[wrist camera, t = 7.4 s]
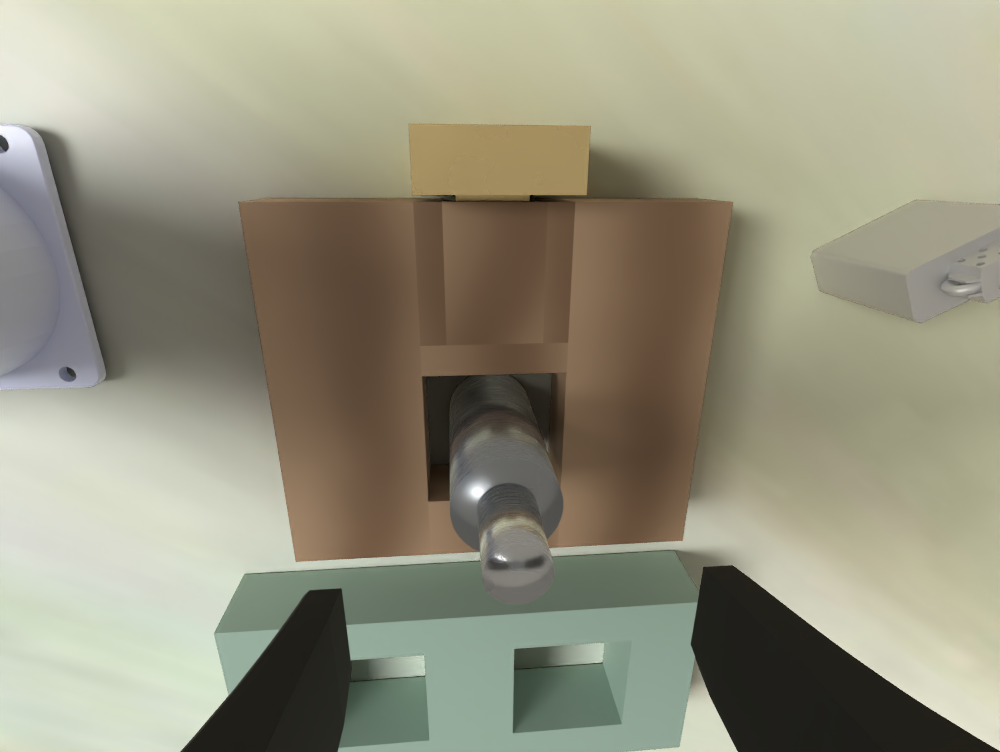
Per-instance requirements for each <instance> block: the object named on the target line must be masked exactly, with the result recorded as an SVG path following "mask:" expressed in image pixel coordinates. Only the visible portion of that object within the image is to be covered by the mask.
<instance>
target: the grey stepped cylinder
mask: <svg viewBox="0 0 1000 752" xmlns="http://www.w3.org/2000/svg"><path fill="white" fill-rule="evenodd" d="M562 513H563V495H562V492H561V489H560V486H559V483H558V480H557V478H556V475H555V472H554V469H553V466H552V463H551V461H550V458H549V455H548V452H547V449H546V447H545V444H544V441H543V438H542V435H541V432H540V430H539V427H538V424H537V421H536V418H535V415H534V413H533V410H532V407H531V404H530V401H529V398H528V396H527V393H526V391H525V389H524V388H523V386H522V385H521V384H520V383H519V382H518V381H517V380H516V379H515V378H513V377H512V376H510V375H508V374H495V375H472V376H469V377H468V378H466V379H465V380H464V381H463V382H461V383H460V384H459V386H458V387H457V388H456V390H455V391H454V393H453V395H452V398H451V401H450V518H451V522H452V525H453V527H454V530H455V531H456V533H457V534H458V536H459V537H460V538H461V539H462V540H463V541H464V542H465V543H466V544H467V545H469V546H470V547H472V548H473V549H475V550H477V551H479V552H480V557H481V569H482V581H483V585H484V587H485V589H486V591H487V592H488V594H489V595H490V596H492V597H493V598H494V599H496V600H498V601H500V602H503V603H507V604H524V603H528V602H531V601H534V600H536V599H538V598H539V597H541V596H542V595H543V594H544V593H546V592H547V590H548V589H549V588H550V586H551V585H552V583H553V580H554V575H555V569H554V565H553V561H552V557H551V553H550V550H549V546H548V542H547V539H548V538H549V537H550V536H551V535H552V533H553V532H554V531H555V529H556V528H557V526H558V524H559V522H560V520H561V517H562Z"/></svg>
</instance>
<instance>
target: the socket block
mask: <svg viewBox="0 0 1000 752" xmlns="http://www.w3.org/2000/svg"><path fill="white" fill-rule="evenodd" d="M238 203H239V209H240V215H241V222H242V228H243V234H244V241H245V247H246V253H247V259H248V266H249V272H250V278H251V284H252V291H253V297H254V303H255V309H256V316H257V322H258V328H259V334H260V341H261V347H262V353H263V360H264V366H265V372H266V378H267V385H268V391H269V397H270V403H271V410H272V416H273V422H274V428H275V435H276V441H277V447H278V454H279V460H280V466H281V472H282V479H283V485H284V491H285V497H286V504H287V510H288V516H289V522H290V529H291V535H292V541H293V547H294V554H295V560H296V562H300V561H318V560H336V559H355V558H373V557H391V556H409V555H428V554H446V553H464V552H479V551H477V550H475V549H473V548H472V547H470V546H469V545H467V544H466V543H465V542H464V541H463V540H462V539H461V538H460V537H459V536H458V534H457V533H456V531H455V530H454V527H453V525H452V522H451V518H450V464H443V465H431V464H430V442H429V421H428V400H427V379H426V376H458V375H495V374H532V373H552V378H551V402H550V427H549V452H548V455H549V458H550V461H551V463H552V466H553V469H554V472H555V475H556V478H557V480H558V483H559V486H560V489H561V492H562V495H563V513H562V517H561V520H560V522H559V524H558V526H557V528H556V529H555V531H554V532H553V533H552V535H551V536H550V537H549V538H548V539H547V542H548V546H549V548H556V547H574V546H592V545H611V544H629V543H647V542H665V541H682V540H683V533H684V526H685V520H686V513H687V506H688V500H689V493H690V486H691V480H692V473H693V466H694V460H695V453H696V446H697V440H698V433H699V426H700V420H701V413H702V406H703V399H704V393H705V386H706V379H707V373H708V366H709V359H710V353H711V346H712V339H713V333H714V326H715V319H716V313H717V306H718V299H719V293H720V286H721V279H722V272H723V266H724V259H725V252H726V246H727V239H728V232H729V226H730V219H731V212H732V206H733V202H727V201H717V200H707V199H697V198H535V201H443V198H265V199H258V200H250V201H243V202H238Z"/></svg>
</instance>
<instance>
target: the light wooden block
mask: <svg viewBox="0 0 1000 752" xmlns="http://www.w3.org/2000/svg"><path fill="white" fill-rule="evenodd" d="M590 129H591V126H545V125H463V124H409V139H410V159H411V179H412V195H455V201H529V198H530V195H587V181H588V164H589V146H590Z"/></svg>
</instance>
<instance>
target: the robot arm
mask: <svg viewBox="0 0 1000 752" xmlns="http://www.w3.org/2000/svg"><path fill="white" fill-rule="evenodd" d="M1 135H2V136H3V137H5V138H6V140H7V142H8V144H9V149H8V150H7V152H5V151H4V150H3V149H2V148H1V146H0V390H13V389H50V388H87V387H93V386H95V385H97V384H99V383H100V382H102V381H103V380H104V378H105V376H106V369H105V365H104V362H103V358H102V354H101V351H100V347H99V343H98V340H97V336H96V332H95V329H94V325H93V321H92V317H91V314H90V310H89V306H88V303H87V299H86V295H85V292H84V288H83V284H82V281H81V277H80V273H79V269H78V266H77V262H76V258H75V255H74V251H73V247H72V244H71V240H70V236H69V233H68V229H67V225H66V222H65V218H64V214H63V210H62V207H61V203H60V199H59V196H58V192H57V188H56V185H55V181H54V177H53V174H52V170H51V166H50V162H49V159H48V155H47V151H46V148H45V144H44V142H43V140H42V138H41V136H40V135H39V134H38V133H37V132H36V131H35V130H33V129H31V128H30V127H27V126H23V125H15V124H0V137H1ZM67 367H69V368H71V369H72V370H74V372H75V373H76V377H72V376H71V375H69V373H68V372H67ZM691 647H692V650H693V652H694V655H695V658H696V661H697V663H698V666H699V669H700V672H701V674H702V677H703V680H704V682H705V685H706V687H707V690H708V692H709V695H710V697H711V699H712V701H713V703H714V705H715V707H716V709H717V711H718V713H719V715H720V717H721V719H722V721H723V723H724V725H725V727H726V729H727V731H728V733H729V735H730V737H731V739H732V741H733V743H734V745H735V747H736V749H737V751H738V752H1000V751H999V750H997V749H995V748H994V747H992V746H990V745H988V744H987V743H985V742H983V741H982V740H980V739H978V738H976V737H975V736H973V735H972V734H970V733H968V732H967V731H965V730H963V729H962V728H960V727H959V726H957V725H955V724H954V723H952V722H951V721H949V720H947V719H946V718H944V717H942V716H941V715H939V714H938V713H936V712H934V711H933V710H931V709H929V708H928V707H926V706H925V705H923V704H922V703H920V702H919V701H917V700H915V699H914V698H912V697H911V696H909V695H908V694H906V693H905V692H903V691H902V690H900V689H899V688H897V687H896V686H895V685H893V684H892V683H890V682H889V681H887V680H886V679H884V678H883V677H881V676H880V675H879V674H877V673H876V672H874V671H873V670H871V669H870V668H868V667H867V666H866V665H864V664H863V663H861V662H860V661H858V660H857V659H856V658H854V657H853V656H852V655H850V654H849V653H847V652H846V651H845V650H843V649H842V648H841V647H839V646H838V645H836V644H835V643H834V642H832V641H831V640H830V639H828V638H827V637H826V636H824V635H823V634H822V633H820V632H819V631H818V630H816V629H815V628H814V627H812V626H811V625H810V624H808V623H807V622H806V621H805V620H803V619H802V618H801V617H799V616H798V615H797V614H795V613H794V612H793V611H792V610H790V609H789V608H788V607H786V606H785V605H784V604H783V603H781V602H780V601H779V600H777V599H776V598H775V597H774V596H772V595H771V594H770V593H768V592H767V591H766V590H765V589H763V588H762V587H761V586H759V585H758V584H757V583H756V582H754V581H753V580H752V579H750V578H749V577H748V576H746V575H745V574H744V573H742V572H741V571H740V570H738V569H737V568H735V567H734V566H733V565H731V566H714V567H704V568H703V574H702V579H701V585H700V591H699V597H698V603H697V609H696V615H695V621H694V627H693V632H692V638H691ZM351 669H352V667H351V659H350V651H349V643H348V635H347V627H346V619H345V611H344V603H343V595H342V588H337V589H320V590H309V591H308V592H307V593H306V594H305V595H304V596H303V597H302V599H301V600H300V602H299V603H298V605H297V606H296V607H295V609H294V610H293V612H292V613H291V614H290V616H289V617H288V619H287V620H286V621H285V623H284V624H283V626H282V627H281V628H280V630H279V631H278V633H277V634H276V635H275V637H274V638H273V639H272V641H271V642H270V643H269V645H268V646H267V647H266V649H265V650H264V651H263V653H262V654H261V655H260V657H259V658H258V659H257V660H256V662H255V663H254V664H253V666H252V667H251V668H250V669H249V671H248V672H247V673H246V674H245V676H244V677H243V678H242V680H241V681H240V682H239V683H238V685H237V686H236V687H235V689H234V690H233V691H232V692H231V693H230V695H229V696H228V697H227V698H226V700H225V701H224V702H223V703H222V704H221V705H220V707H219V708H218V709H217V710H216V711H215V712H214V714H213V715H212V716H211V717H210V718H209V719H208V721H207V722H206V723H205V724H204V725H203V726H202V728H201V729H200V730H199V731H198V732H197V734H196V735H195V736H194V737H193V738H192V739H191V741H190V742H189V743H188V744H187V745H186V746H185V747H184V748H183V749H182V751H181V752H338V748H339V744H340V740H341V735H342V731H343V727H344V721H345V714H346V707H347V700H348V692H349V685H350V677H351Z"/></svg>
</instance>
